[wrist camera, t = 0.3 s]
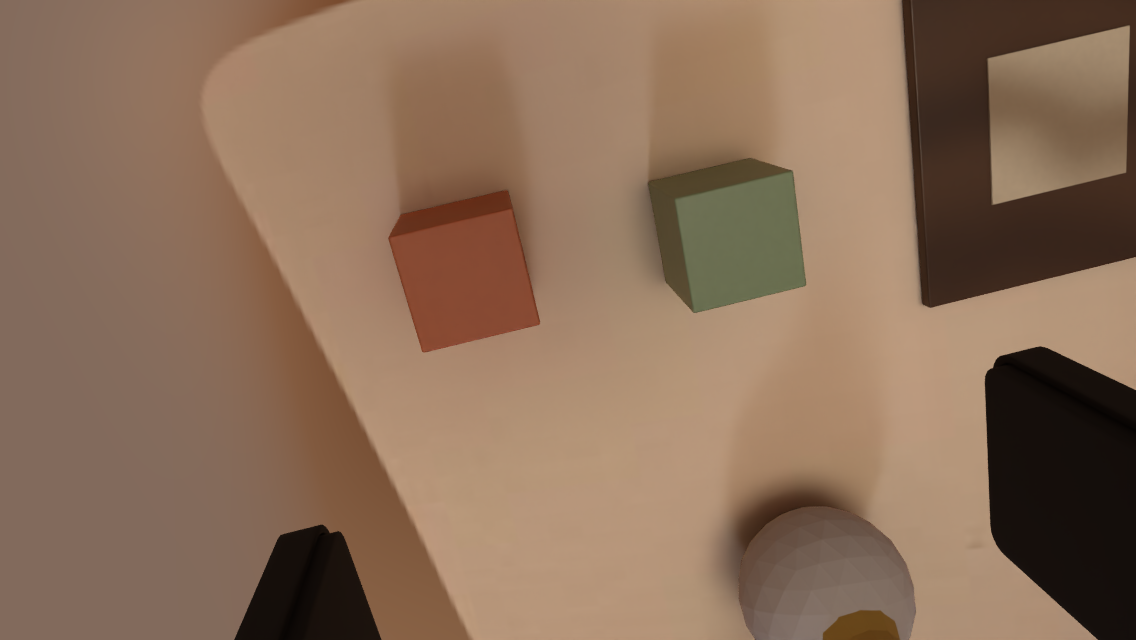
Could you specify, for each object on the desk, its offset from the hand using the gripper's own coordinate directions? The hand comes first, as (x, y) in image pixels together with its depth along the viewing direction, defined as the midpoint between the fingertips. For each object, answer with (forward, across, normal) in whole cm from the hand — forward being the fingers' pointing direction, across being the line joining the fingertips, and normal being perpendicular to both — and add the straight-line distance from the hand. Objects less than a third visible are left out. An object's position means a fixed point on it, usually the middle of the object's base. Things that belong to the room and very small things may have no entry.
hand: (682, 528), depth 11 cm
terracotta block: (+22, +3, 0) cm, 22 cm away
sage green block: (+22, -7, +1) cm, 23 cm away
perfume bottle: (+22, -9, +19) cm, 30 cm away
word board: (+22, -27, 0) cm, 34 cm away
